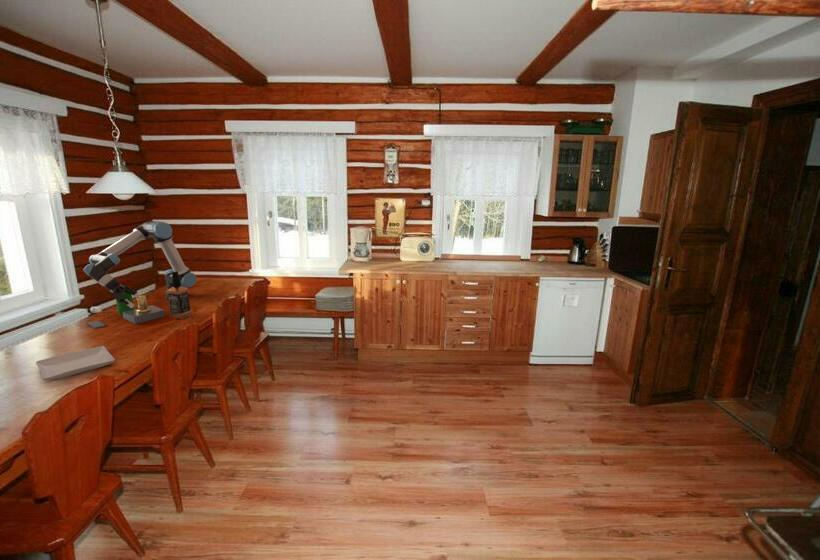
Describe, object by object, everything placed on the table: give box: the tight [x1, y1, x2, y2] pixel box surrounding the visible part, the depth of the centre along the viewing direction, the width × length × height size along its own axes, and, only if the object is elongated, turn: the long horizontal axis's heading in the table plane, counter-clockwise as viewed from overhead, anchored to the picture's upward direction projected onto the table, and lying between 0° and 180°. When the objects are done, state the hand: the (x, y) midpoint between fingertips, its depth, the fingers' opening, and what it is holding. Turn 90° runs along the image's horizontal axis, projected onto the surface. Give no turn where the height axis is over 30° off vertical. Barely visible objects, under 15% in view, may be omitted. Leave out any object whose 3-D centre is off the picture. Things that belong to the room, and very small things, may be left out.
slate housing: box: [122, 304, 166, 325], centre depth 260 cm, size 18×18×6 cm
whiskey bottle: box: [166, 272, 193, 321], centre depth 261 cm, size 10×10×32 cm
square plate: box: [35, 345, 116, 381], centre depth 194 cm, size 27×27×4 cm
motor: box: [115, 292, 135, 316], centre depth 270 cm, size 10×9×20 cm
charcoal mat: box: [86, 319, 109, 330], centre depth 252 cm, size 14×14×1 cm
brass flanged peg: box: [136, 295, 151, 313], centre depth 258 cm, size 8×8×15 cm
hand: (138, 303), depth 257 cm, fingers open, 13 cm apart
